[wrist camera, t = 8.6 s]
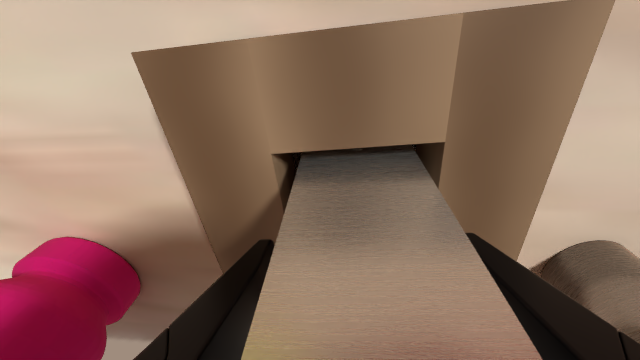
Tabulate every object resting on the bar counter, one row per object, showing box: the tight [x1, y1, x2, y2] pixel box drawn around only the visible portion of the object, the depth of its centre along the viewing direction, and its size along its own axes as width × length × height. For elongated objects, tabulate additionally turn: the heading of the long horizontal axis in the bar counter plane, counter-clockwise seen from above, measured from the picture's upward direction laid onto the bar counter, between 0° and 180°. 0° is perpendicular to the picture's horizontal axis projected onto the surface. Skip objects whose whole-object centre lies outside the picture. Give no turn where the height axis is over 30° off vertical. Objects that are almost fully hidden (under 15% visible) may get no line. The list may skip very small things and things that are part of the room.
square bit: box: [241, 144, 543, 360], centre depth 8 cm, size 4×4×9 cm
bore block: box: [131, 0, 615, 274], centre depth 11 cm, size 12×12×3 cm
